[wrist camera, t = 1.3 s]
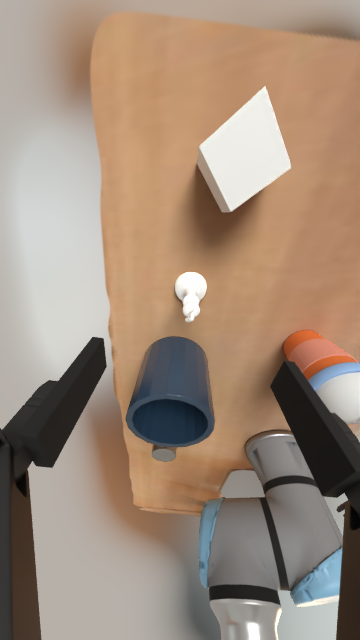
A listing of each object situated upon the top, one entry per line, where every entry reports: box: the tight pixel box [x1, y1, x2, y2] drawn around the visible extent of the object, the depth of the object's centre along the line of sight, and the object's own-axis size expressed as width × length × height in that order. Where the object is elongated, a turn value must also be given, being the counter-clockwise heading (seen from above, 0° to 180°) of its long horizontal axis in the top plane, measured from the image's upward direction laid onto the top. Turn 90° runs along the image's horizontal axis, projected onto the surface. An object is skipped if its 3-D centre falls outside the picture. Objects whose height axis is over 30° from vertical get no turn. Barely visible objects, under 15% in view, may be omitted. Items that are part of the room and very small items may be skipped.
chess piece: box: [175, 272, 207, 323], centre depth 24 cm, size 5×5×10 cm
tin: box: [126, 337, 215, 447], centre depth 31 cm, size 12×12×12 cm
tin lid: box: [152, 444, 176, 462], centre depth 40 cm, size 13×13×9 cm
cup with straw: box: [283, 330, 360, 424], centre depth 25 cm, size 9×9×18 cm
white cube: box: [197, 86, 291, 213], centre depth 19 cm, size 6×6×6 cm
